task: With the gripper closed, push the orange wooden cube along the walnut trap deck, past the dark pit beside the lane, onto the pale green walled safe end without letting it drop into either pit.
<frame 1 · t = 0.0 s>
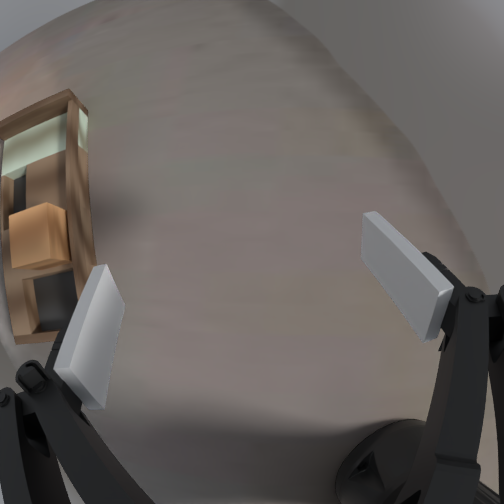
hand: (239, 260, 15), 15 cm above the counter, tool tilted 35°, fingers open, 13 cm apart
block: (55, 241, 27), point 2 cm above the counter, touching trap deck
trap deck: (47, 223, 30), on the counter
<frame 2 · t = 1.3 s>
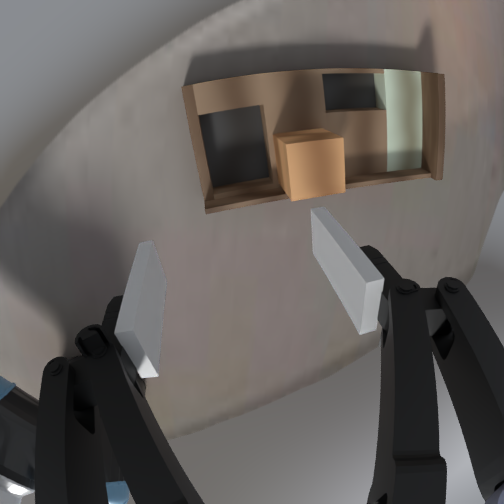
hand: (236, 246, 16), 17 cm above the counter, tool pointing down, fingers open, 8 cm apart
block: (300, 155, 29), point 2 cm above the counter, touching trap deck
trap deck: (318, 124, 30), on the counter
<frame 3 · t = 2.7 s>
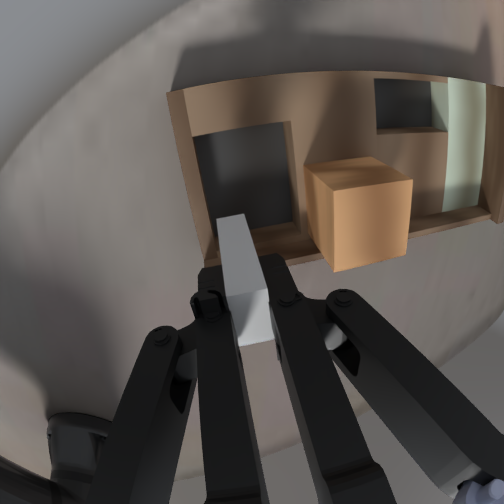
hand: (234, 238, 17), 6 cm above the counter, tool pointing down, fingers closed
block: (339, 194, 21), point 2 cm above the counter, touching trap deck
trap deck: (360, 147, 22), on the counter
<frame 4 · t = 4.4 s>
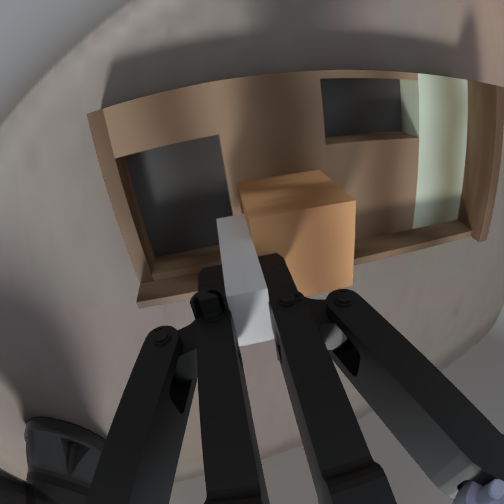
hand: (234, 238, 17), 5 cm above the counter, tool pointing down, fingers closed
block: (282, 214, 19), point 2 cm above the counter, touching gripper, trap deck
trap deck: (313, 158, 20), on the counter
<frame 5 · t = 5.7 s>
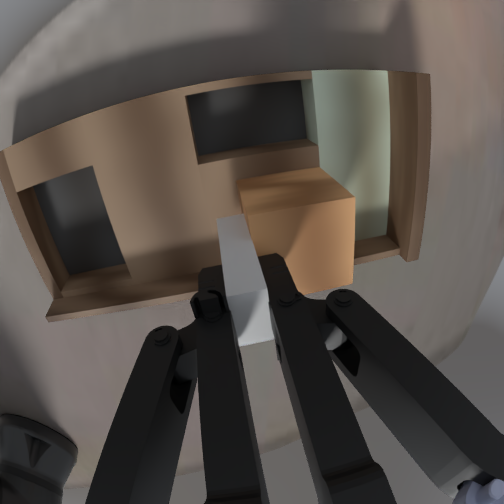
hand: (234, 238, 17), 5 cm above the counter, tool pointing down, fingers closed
block: (282, 211, 19), point 3 cm above the counter, touching gripper, trap deck
trap deck: (202, 176, 20), on the counter
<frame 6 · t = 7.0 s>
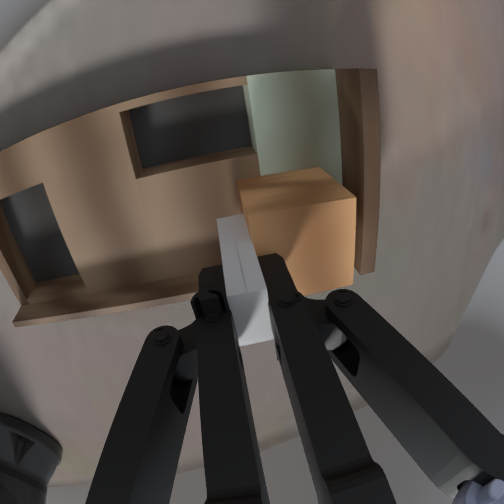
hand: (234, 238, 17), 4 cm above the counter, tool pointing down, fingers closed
block: (282, 211, 19), point 2 cm above the counter, touching gripper, trap deck
trap deck: (149, 188, 19), on the counter
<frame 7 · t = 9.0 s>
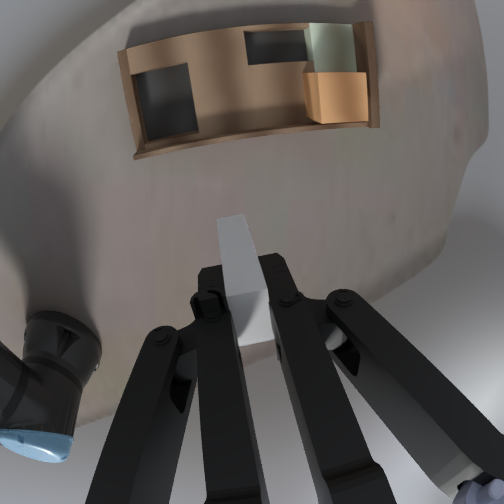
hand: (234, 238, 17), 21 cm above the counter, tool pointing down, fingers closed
block: (326, 93, 30), point 2 cm above the counter, touching trap deck
trap deck: (247, 79, 31), on the counter
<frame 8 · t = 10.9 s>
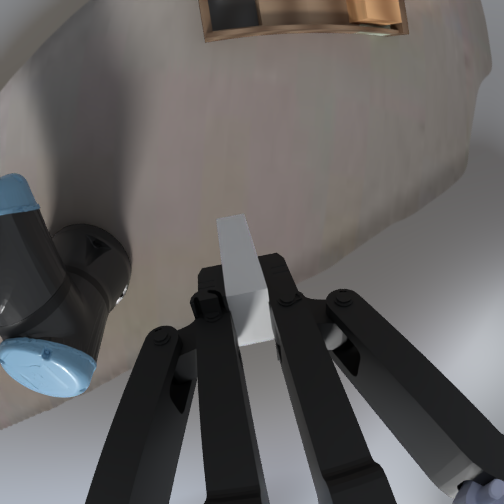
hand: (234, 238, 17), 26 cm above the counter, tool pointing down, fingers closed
block: (363, 8, 29), point 2 cm above the counter, touching trap deck
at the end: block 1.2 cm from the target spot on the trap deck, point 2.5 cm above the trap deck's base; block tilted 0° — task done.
